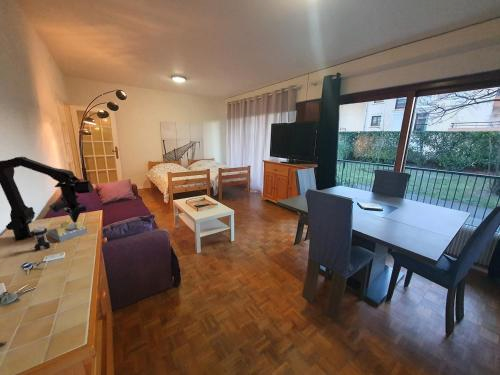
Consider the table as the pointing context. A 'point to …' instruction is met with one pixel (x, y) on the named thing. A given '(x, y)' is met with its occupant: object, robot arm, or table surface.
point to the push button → (40, 238)
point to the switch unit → (68, 233)
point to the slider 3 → (79, 225)
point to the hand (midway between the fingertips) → (74, 222)
